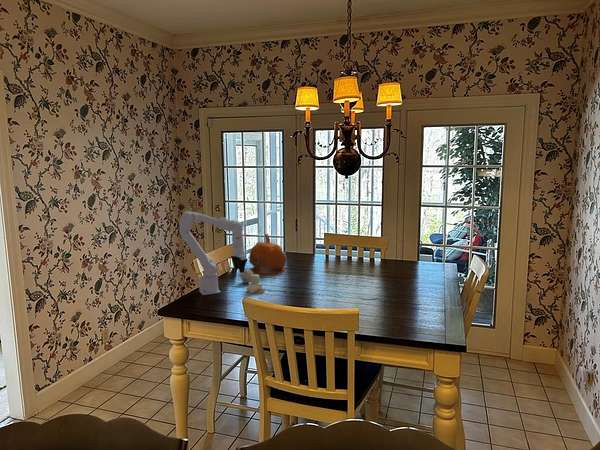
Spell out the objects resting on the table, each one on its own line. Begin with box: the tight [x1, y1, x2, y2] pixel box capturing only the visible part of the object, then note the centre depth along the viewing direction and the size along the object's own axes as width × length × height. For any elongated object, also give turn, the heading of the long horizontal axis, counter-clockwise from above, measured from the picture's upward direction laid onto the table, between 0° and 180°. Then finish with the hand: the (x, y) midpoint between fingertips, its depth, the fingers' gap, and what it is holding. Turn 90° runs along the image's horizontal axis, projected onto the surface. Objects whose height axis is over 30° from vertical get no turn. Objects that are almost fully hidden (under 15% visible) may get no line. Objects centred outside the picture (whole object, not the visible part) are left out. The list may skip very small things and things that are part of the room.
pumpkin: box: [248, 233, 287, 276], centre depth 270 cm, size 22×25×23 cm
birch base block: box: [246, 286, 266, 295], centre depth 230 cm, size 7×7×2 cm
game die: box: [238, 269, 255, 284], centre depth 245 cm, size 9×8×10 cm
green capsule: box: [251, 274, 260, 284], centre depth 229 cm, size 4×4×4 cm
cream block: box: [248, 281, 263, 290], centre depth 230 cm, size 6×6×2 cm
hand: (239, 270), depth 232 cm, fingers open, 7 cm apart
